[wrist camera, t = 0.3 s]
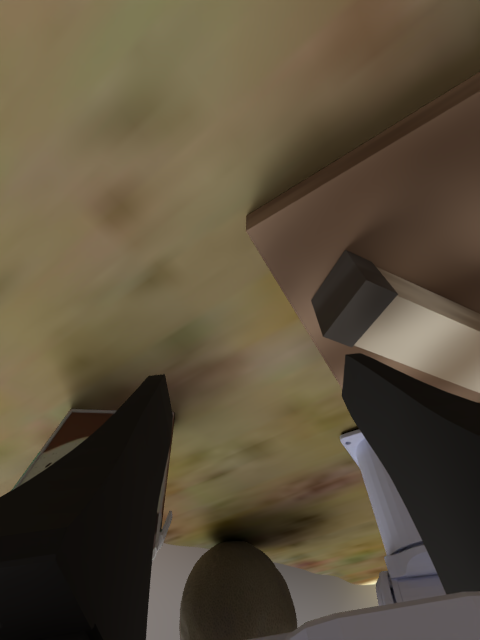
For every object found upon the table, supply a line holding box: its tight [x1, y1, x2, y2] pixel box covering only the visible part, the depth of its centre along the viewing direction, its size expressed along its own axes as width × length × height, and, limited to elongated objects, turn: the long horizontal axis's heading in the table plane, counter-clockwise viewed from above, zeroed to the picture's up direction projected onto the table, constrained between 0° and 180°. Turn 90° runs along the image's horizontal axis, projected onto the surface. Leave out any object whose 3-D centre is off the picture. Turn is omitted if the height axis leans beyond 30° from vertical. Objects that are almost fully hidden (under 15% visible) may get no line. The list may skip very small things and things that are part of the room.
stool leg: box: [311, 250, 480, 393], centre depth 16 cm, size 17×3×3 cm, turn 67°
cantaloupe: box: [179, 541, 297, 640], centre depth 37 cm, size 14×14×15 cm
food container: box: [11, 409, 175, 561], centre depth 24 cm, size 12×6×10 cm, turn 89°
